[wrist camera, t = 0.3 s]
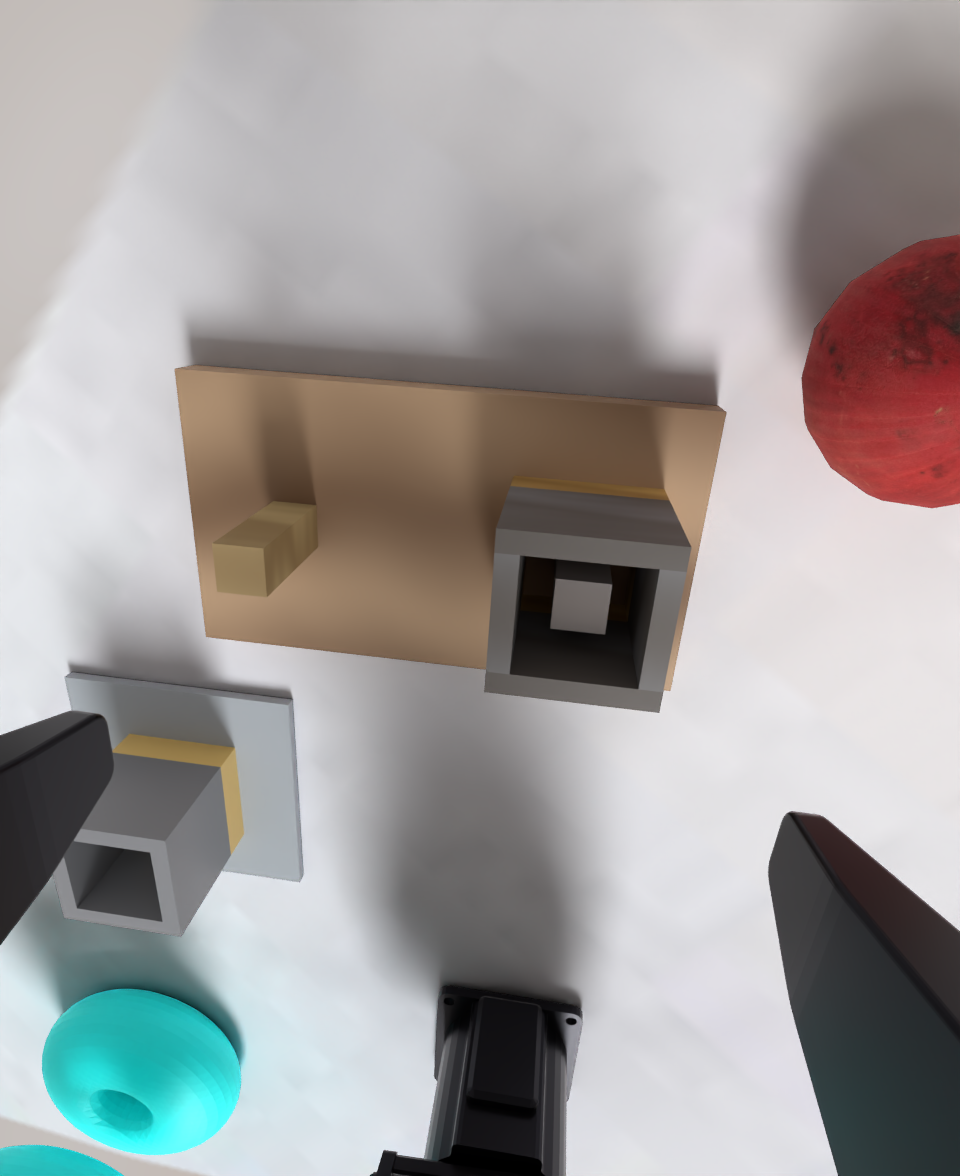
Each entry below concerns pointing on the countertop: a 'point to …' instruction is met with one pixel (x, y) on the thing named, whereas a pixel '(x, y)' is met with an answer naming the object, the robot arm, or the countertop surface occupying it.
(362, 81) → the countertop surface
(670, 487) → the pin board
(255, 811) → the mat
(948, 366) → the onion
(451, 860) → the countertop surface
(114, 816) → the sleeve
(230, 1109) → the donuts
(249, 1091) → the countertop surface
